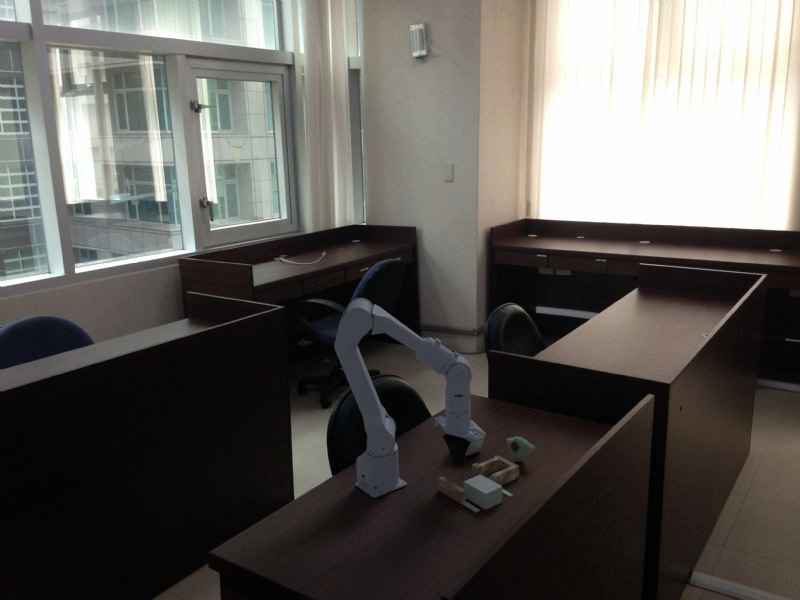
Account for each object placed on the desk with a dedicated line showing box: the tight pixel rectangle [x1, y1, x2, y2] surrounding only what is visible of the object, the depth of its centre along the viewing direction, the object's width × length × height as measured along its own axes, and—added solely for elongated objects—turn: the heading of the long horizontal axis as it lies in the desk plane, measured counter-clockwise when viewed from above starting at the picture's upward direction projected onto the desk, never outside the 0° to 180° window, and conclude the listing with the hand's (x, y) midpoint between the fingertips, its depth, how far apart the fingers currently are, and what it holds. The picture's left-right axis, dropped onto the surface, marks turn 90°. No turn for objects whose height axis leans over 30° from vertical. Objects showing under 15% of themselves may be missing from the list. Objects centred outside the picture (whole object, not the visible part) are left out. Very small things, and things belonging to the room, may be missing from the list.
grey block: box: [463, 475, 503, 511], centre depth 151 cm, size 5×7×4 cm
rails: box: [461, 488, 514, 513], centre depth 151 cm, size 11×4×1 cm, turn 126°
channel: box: [437, 454, 520, 505], centre depth 157 cm, size 18×8×3 cm, turn 126°
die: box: [465, 419, 487, 457], centre depth 173 cm, size 8×9×10 cm
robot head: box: [506, 435, 537, 463], centre depth 167 cm, size 8×4×7 cm, turn 46°
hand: (458, 463), depth 157 cm, fingers closed
